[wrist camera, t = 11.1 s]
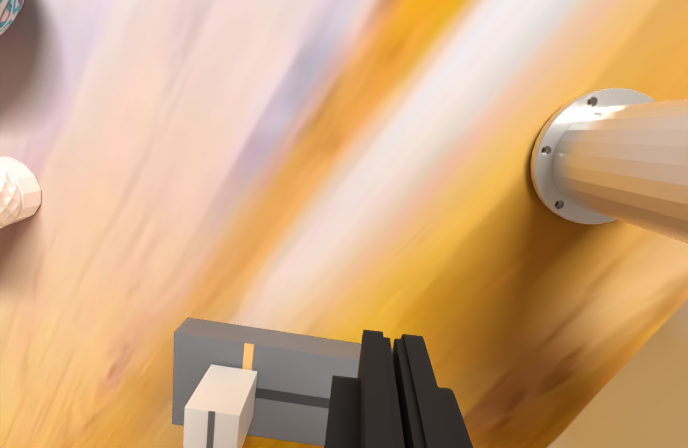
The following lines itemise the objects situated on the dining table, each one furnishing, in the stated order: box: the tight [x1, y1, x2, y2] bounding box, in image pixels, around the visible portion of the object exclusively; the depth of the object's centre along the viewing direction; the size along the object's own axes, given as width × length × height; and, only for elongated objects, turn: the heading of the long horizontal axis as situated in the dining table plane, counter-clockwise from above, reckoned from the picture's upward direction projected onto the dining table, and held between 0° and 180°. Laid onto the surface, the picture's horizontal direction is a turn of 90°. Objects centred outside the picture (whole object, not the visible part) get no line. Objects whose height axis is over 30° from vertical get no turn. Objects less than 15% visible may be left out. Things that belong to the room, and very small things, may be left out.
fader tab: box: [183, 364, 258, 448], centre depth 35 cm, size 5×6×6 cm
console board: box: [172, 318, 393, 446], centre depth 40 cm, size 26×12×3 cm, turn 81°
